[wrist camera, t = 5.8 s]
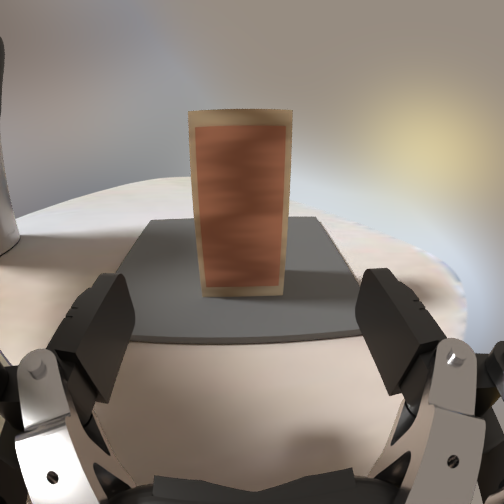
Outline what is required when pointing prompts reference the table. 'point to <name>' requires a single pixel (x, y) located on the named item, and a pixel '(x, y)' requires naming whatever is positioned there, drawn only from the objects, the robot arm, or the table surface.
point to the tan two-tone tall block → (241, 199)
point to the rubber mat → (245, 307)
